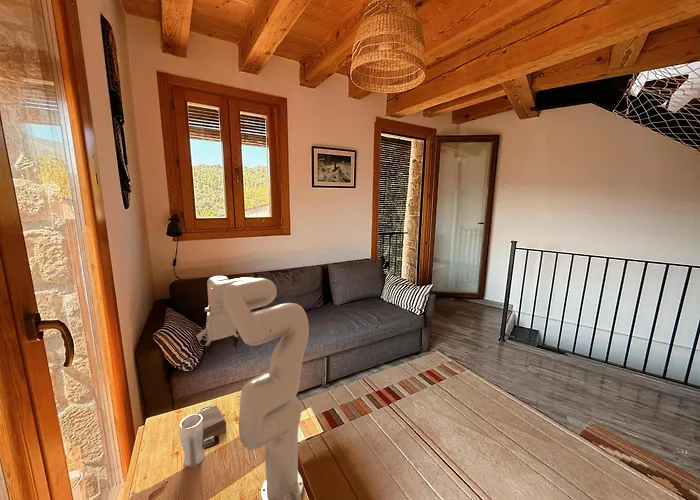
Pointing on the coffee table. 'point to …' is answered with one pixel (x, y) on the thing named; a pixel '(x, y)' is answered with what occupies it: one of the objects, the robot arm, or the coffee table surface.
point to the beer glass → (192, 439)
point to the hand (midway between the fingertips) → (222, 349)
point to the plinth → (213, 422)
